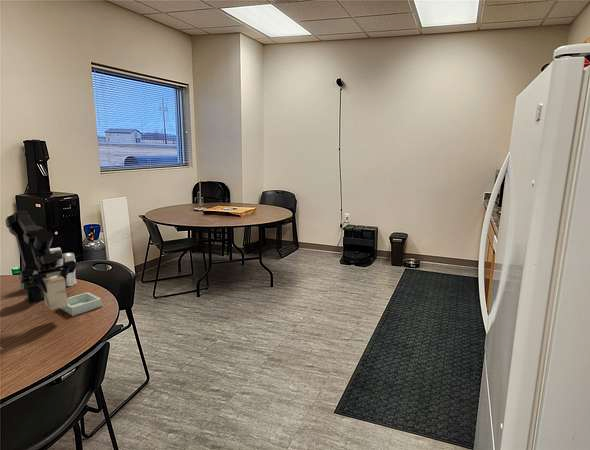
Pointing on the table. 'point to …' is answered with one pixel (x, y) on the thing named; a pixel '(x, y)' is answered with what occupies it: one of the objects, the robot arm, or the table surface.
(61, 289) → the maple block
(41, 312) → the table surface
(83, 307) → the tray
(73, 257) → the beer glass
